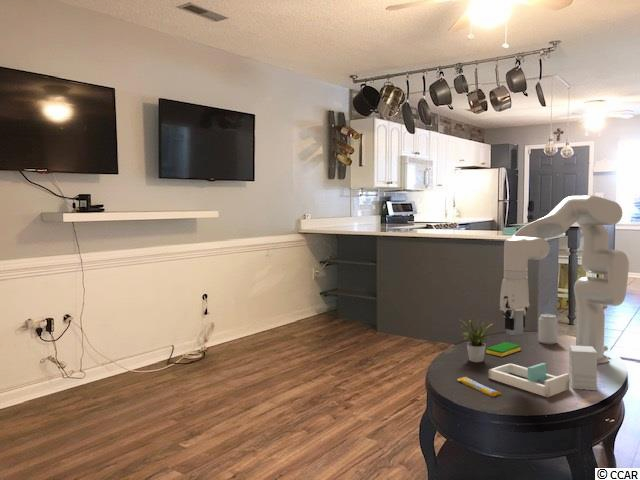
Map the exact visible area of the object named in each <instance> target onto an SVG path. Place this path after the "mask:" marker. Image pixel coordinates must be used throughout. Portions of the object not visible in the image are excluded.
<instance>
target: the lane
mask: <svg viewBox="0 0 640 480" xmlns="http://www.w3.org/2000/svg"><path fill="white" fill-rule="evenodd" d="M522 377H523V378H522ZM488 379H490V380H493V381H496V382H499V383H503V384H506V385H508V386H511V387H515V388H518V389H521V390H524V391H526V392H527V391H528V392H530V393H533V394H535V395H536V394H537V395H539V396H542V397H544V398H545V397H546V398H549V397H552V396H555V395H558V394H560V393H562V392H565V391H567V390H570V382H569V372H568V373H567V372H566V373H561V375H557V376H556V375H553V374H550V373H547V372H546V380H545V385H543V384H539V383H536V382H533V381H530V380H528V367H525V366H522V365H518V364H516V363H515V364H514V363H510V362H509V363H507V364H503V365H500V366H496V367H494V368H493V367H492V368H489V369H488Z"/></svg>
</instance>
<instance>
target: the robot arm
mask: <svg viewBox="0 0 640 480" xmlns="http://www.w3.org/2000/svg"><path fill="white" fill-rule="evenodd" d="M622 218H623V208H622V207H621V205H620V204H619V203H618V202H616V201H615V200H610V199H607V198H604V197H601V196H596V195H571V196H567V197H565V198H563V199H562V200H561V201H560V202H559V203H558V204H557V205H556V206H555V207H554V208H553V209H552V210H550V212H549V213H548V214H547V215H545V216H544V217H541V218H538V219H537V220H534V221H532V222H530V223H527V224H525V225H524V226H522V227H520V228H519V229H518V230H516V232H515V233H513V234H512V236H510V238H507V239H505V240H504V244H503V279H502V281H501V286H500V295H499V297H500V298H499V307H500V308H499V311H500V312H501V313H502V314H503V317H504V329H505V330H507V329H508V330H514V318H513V314H514V310H515V309H518V308H523V307H524V310H523V329H524V328H526V316H527V311H528V309H529V307H530V305H531V303H530V301H529V300H530V292H529V291H530V290H529V289H530V288H529V280H528V273H529V272H528V271H529V270H528V267H529V266H528V265H529V264H528V263H529V260H542V259H544V258H546V257H547V256H548V255H549V253H550V252H551V251H550V250H551V247H550V244H549V243H550V242H548V240H546V239H551V238H555V237H559V236H561V235H563V234H565V233H566V232H567V231H568V230H569V229H570V228H571V227H572V226H573V225H574V223H577V224H578V225H579V227H580V228H581V231H582V234H583V242H582V243H583V244H582V245H583V246H582V253H581V268H582V270H583V271H584V272H586V273H588V274H589V273H590V274H595V275H603V276H607V278H602V277H594V276H582V277H580V278H578V279H577V280H576V281H575V283H574V285H573V293H574V298H575V304H576V307H575V308H576V315H575V316H576V322H575V323H576V324H575V330H576V331H575V346H592V347H593V348H594V349H595V351H596V352H597V365H601V364H606V363H608V362H609V357H608V356H606V355H605V352H607V351H608V350H609V347H608V346H606V345H605V322H606V321H605V320H606V316H605V311H604V309H603V306H602V305H605V306H613V307H617V306H620V305H622V304H623V302H624V301H625V298H626V295H627V294H626V293H627V288H628V280H629V278H628V277H629V269H630V263H629V258H628V256H627V255H626V253H625V252H624V251H621V250H618V249H609V245H610V244H609V243H610V234H609V232H608V230H607V228H606V227H605V226H613V225H614V226H615V225H616V224H618V223H620V221H621V219H622ZM508 307H510V309H509V308H508ZM508 310H509V311H510V313H509V312H508Z"/></svg>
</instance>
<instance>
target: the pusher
mask: <svg viewBox="0 0 640 480" xmlns="http://www.w3.org/2000/svg"><path fill="white" fill-rule="evenodd" d="M527 368H528V378H527V380H530V381H533V382H536V383H539V384H543V385H545V380H546V373H547V362H546V363H545V362H541V363H538V364H533V365H531V366H528V367H527Z"/></svg>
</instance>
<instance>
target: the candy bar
mask: <svg viewBox="0 0 640 480" xmlns="http://www.w3.org/2000/svg"><path fill="white" fill-rule="evenodd" d="M456 380H457V381H459V382H461V383H462V384H463V385H465V386H467V387H469V388H472V389H473V390H477V391H478V392H481V393H483V394H485V395H487V396H490V397H493V398H495V397H496V396H500V395H501V393H502V392H501V391H497V390H495V389H493V388H490V387H488V386H485V385H484V384H481V382H480V383H479V382H477V381H475V380H473V379H471V378H469V377H467V376H463V377H459V378H457V379H456Z"/></svg>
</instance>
